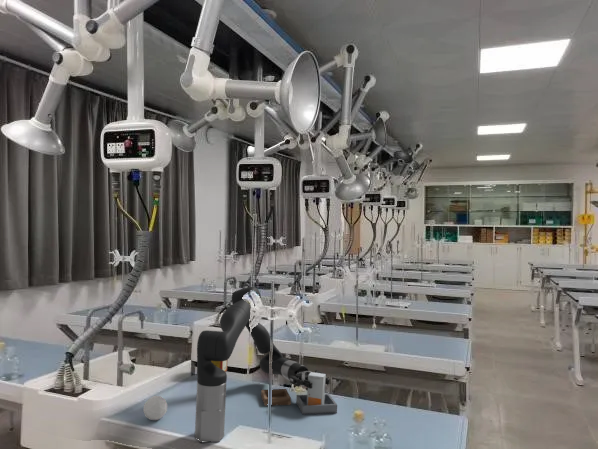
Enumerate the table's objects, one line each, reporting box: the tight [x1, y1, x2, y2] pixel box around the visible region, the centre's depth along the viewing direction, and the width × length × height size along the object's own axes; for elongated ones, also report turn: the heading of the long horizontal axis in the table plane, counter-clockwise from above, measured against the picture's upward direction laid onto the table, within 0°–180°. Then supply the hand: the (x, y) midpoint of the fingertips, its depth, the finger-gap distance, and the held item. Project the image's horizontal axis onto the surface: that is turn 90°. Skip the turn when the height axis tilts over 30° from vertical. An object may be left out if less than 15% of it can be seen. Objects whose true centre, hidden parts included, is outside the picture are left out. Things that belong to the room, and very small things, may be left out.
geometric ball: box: [142, 395, 168, 421], centre depth 153 cm, size 8×8×8 cm
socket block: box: [260, 388, 292, 407], centre depth 175 cm, size 10×10×2 cm
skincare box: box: [306, 371, 327, 405], centre depth 169 cm, size 6×4×12 cm
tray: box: [295, 393, 338, 416], centre depth 169 cm, size 11×13×3 cm
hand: (320, 383), depth 167 cm, fingers open, 8 cm apart
